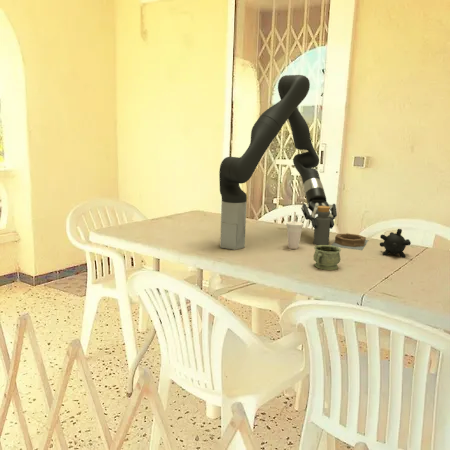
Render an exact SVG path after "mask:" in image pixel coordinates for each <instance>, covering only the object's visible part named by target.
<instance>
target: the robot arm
mask: <svg viewBox="0 0 450 450" xmlns="http://www.w3.org/2000/svg"><path fill="white" fill-rule="evenodd" d="M310 85H311V81H310V79H309V78H308V77H307V76H306V75H303V74H287V75H283V76H281V77H280V78H279V80H278V83H277V91H278V95H279V98H280V100H279V101H278V102H276V103H275V104H273V105H271V106H270V107H269V108H268V109H265V111H263V112H262V114H260V116H259V117H258V119H257V120H256V121H255V122H254V124H253V126H252V128H251V130H250V131H251V132H250V142H249V143H250V144H249V145H248V148H247V149H246V150H245V152H244V153H243V154H242V155H241V156H239V157H237V156H227V157H225V158H223V160H222V161H221V163H220V165H219V173H218V175H219V178H218V179H219V193H220V197H221V206H220V207H221V208H220V209H221V211H220V238H219V239H220V241H219V242H220V243H219V247H220V248H221V249H228V250H235V251H237V250H239V249H244V248H245V246H246V225H247V224H246V223H247V199H248V195H247V193H246V192H245V191H244V190H242V188H241V187H240V184H241V185H242V184H245V183H247V182H248V181H249V180H250V179H251V177H252V176H253V174H254V173H255V170H256V169H257V167H258V166H259V163H260V161H261V160H262V158H263V156H264V155H265V153H266V152H267V150H268V148H269V147H270V146H271V144H272V142H273V141H274V140H275V138H276V137H277V136H278V134H279V133H280V131H281V130H282V128H283V127H284V125H285V124H286V122H287V121H288V122H289V126H290V129H291V134H292V140H293V144H294V148H295V149H296V150H298V151H299V150H300V151H301V150H302V151H303V150H304V151H305V152H302V153H301V152H300V153H297V154H295V155H294V157H293V159H292V163H293V166H294V168H295V169H296V171H297V173H298V174H299V175H300V177H301V180H302V184H303V191H304V195H305V198H306V202H307V204H306V203H303V204H302V206H301V211H302V213H303V216H304V218H305V220H309V221H310V222H311V225H312V228H313V229H316V228H317V227H318V224H317V221H316V215H318V214H317V211H318V206H328V207H330V209H329V212H330V215H328V217H329V218H330V230H331V229H333V228H334V226H335V221H334V220H335V219H336V218H337V216H338V213H337V205H336V203H332V204H329V203H328V202H327V197H326V196H327V195H326V193H325V189H324V186H323V183H322V180H321V177H320V174H319V171H318V170H317V169H316V168H317V167H318V165H319V163H320V158H319V155H318V153H317V151H316V150H315V148H314V145H313V143H312V138H311V131H310V127H309V124H308V123H307V121H306V119H305V118H304V117H303V115H302V113H301V112H300V110H299V108H298V107H299V105H300V104H301V103H302V102H303V101H304V100H305V98H306V97H307V95H308V93H309V91H310V87H311V86H310ZM309 210H310V211H311V213H310V211H309Z"/></svg>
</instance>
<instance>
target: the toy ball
mask: <svg viewBox="0 0 450 450" xmlns="http://www.w3.org/2000/svg"><path fill="white" fill-rule="evenodd" d="M402 232H403V230H402V229H401V228H397V231H396V232H395V233H394V232H390V233H389V234H388V235H385V234H384V233H383V234H380V239H381V240H383V241H382V242H381V241H380V242H379V246H380V247H381V248H384V249H385V250H384V251H383V252H382V256H384V257H386V256H388V255H389V254H390V255H399V256H400V257H401V258H403V259H404V258H406V254H405V253H404V250H405V249H406V247H407V246H410V245H411V243H412V242H411V241H410V239H405V237H404V236H403V235H402Z"/></svg>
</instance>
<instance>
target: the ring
mask: <svg viewBox="0 0 450 450" xmlns="http://www.w3.org/2000/svg"><path fill="white" fill-rule="evenodd" d="M365 240H367V238H366V236H363V235H360V234H355V233H337V234H336V235H335V237H334V241H335V243H337V244H340V245H343V246H350V247H359V246H364V245H365ZM365 246H366V245H365Z"/></svg>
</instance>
